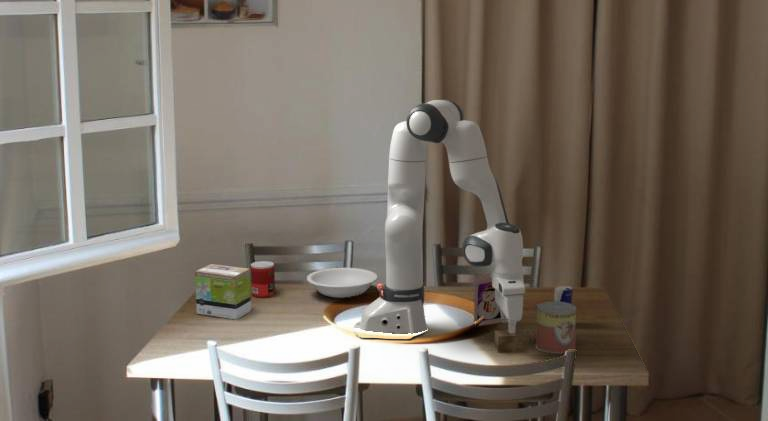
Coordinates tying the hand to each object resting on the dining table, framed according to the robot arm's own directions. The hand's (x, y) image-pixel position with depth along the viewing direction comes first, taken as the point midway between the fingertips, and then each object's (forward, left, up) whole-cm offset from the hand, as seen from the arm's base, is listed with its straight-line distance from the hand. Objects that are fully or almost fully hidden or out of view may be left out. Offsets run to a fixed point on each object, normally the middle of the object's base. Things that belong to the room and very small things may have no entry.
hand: (508, 327), depth 295 cm
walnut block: (-1, 0, -7) cm, 7 cm away
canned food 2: (+14, +1, -7) cm, 16 cm away
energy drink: (+21, +20, -7) cm, 30 cm away
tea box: (-84, +43, -7) cm, 95 cm away
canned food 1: (-72, +62, -7) cm, 95 cm away
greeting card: (-2, +26, -7) cm, 27 cm away
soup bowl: (-45, +59, -7) cm, 75 cm away
